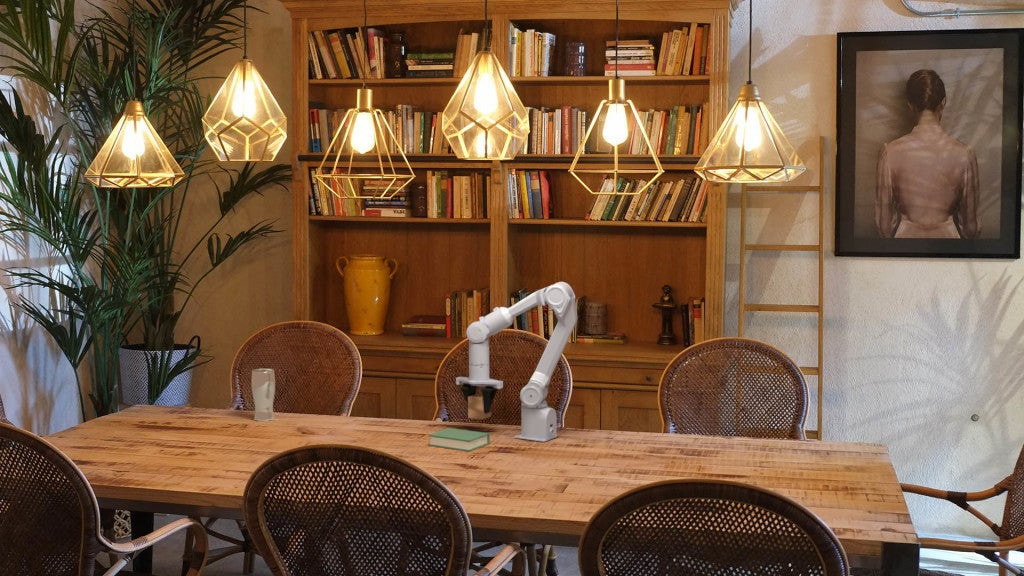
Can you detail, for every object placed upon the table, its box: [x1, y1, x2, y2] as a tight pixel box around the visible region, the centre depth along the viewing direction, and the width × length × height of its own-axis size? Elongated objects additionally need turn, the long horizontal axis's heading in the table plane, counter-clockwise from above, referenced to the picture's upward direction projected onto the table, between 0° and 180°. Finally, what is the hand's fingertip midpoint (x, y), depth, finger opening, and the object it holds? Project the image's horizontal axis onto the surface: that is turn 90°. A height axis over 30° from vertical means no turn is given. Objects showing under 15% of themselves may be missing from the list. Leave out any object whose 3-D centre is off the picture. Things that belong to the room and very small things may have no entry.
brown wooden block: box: [467, 393, 492, 420], centre depth 296 cm, size 5×5×6 cm
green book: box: [428, 427, 491, 453], centre depth 284 cm, size 13×10×3 cm
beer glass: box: [251, 368, 276, 422], centre depth 316 cm, size 7×7×15 cm
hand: (479, 411), depth 296 cm, fingers closed on brown wooden block, 5 cm apart
